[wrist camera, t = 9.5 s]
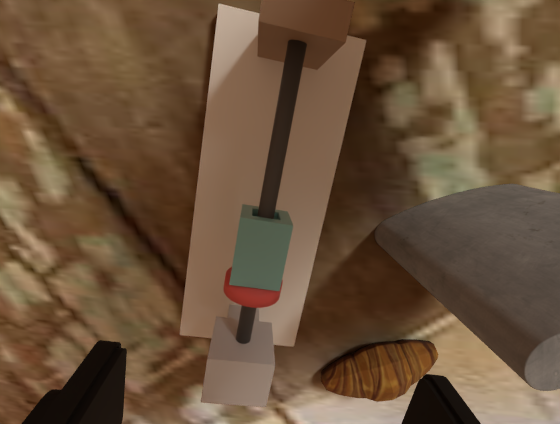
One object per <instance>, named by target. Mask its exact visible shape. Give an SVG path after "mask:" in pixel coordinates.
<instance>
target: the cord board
mask: <svg viewBox="0 0 560 424" xmlns="http://www.w3.org/2000/svg"><path fill="white" fill-rule="evenodd" d="M354 3H355V2H351V1H347V0H262V1H261V7H260V14H259V13H255V12H251V11H247V10H243V9H239V8H235V7H231V6H226V5H222V4H219V6H218V14H217V22H216V31H215V39H214V48H213V56H212V65H211V73H210V81H209V90H208V98H207V107H206V115H205V124H204V132H203V140H202V149H201V157H200V166H199V174H198V183H197V191H196V199H195V208H194V216H193V225H192V233H191V241H190V250H189V258H188V267H187V275H186V284H185V292H184V300H183V309H182V317H181V326H180V334H179V335H185V336H194V337H204V338H212V339H211V344H210V348H209V353H208V358H207V364H206V371H205V378H204V384H203V391H202V398H201V402H203V403H216V404H230V405H243V406H256V407H266V405H267V400H268V396H269V391H270V387H271V382H272V378H273V373H274V369H275V356H274V345H282V346H291V347H294V344H295V339H296V335H297V331H298V327H299V323H300V318H301V314H302V310H303V306H304V302H305V297H306V293H307V289H308V285H309V280H310V276H311V272H312V268H313V264H314V259H315V255H316V251H317V247H318V242H319V238H320V234H321V230H322V226H323V221H324V217H325V213H326V209H327V205H328V200H329V196H330V192H331V188H332V183H333V179H334V175H335V171H336V167H337V162H338V158H339V154H340V150H341V146H342V141H343V137H344V133H345V129H346V124H347V120H348V116H349V112H350V108H351V103H352V99H353V95H354V91H355V86H356V82H357V78H358V74H359V70H360V65H361V61H362V57H363V53H364V49H365V44H366V40H364V39H360V38H356V37H352V36H348V30H349V26H350V21H351V17H352V12H353V8H354ZM242 204H246V205H252V206H258V207H259V209H258V215H257V217H263V218H269V219H274V214H275V209H276V210H282V211H288V213H289V216H290V218H291V221H292V223H293V230H292V235H291V239H290V244H289V249H288V254H287V258H286V263H285V268H284V273H283V277H282V282H281V287H280V291H273V290H265V289H258V288H250V287H242V286H234V285H229V283H230V277H231V270H232V264H233V258H234V252H235V245H236V239H237V233H238V227H239V221H240V215H241V209H242Z"/></svg>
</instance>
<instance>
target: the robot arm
mask: <svg viewBox="0 0 560 424" xmlns="http://www.w3.org/2000/svg"><path fill="white" fill-rule="evenodd" d="M126 354H127V350H126V349H125V348H121V343H119V342H111V341H101V340H100V341H98V342H97V343H96V344H95V346H94V347H93V348H92V350H91V351H90V352H89V354H88V355H87V356H86V358H85V359H84V360H83V362H82V363H81V364H80V366H79V367H78V368H77V370H76V371H75V372H74V374H73V375H72V376H71V378H70V379H69V380H68V382H67V383H66V385H65V386H64V387H63V389H62V390H56V389H55V390H51V391H49V392H48V393H46V394H45V396H44V397H43V398H42V399H41V400H40V401H39V403H38V404H37V405H36V406H35V408H34V409H33V410H32V411H31V413H30V414H29V415H28V416H27V418H26V419H25V420H24V421H23V423H22V424H121V423H122V419H123V405H124V388H125V371H126ZM402 424H481V423H480V422H479V421H478V419H477V418H476V417H475V415H474V414H473V413H472V411H471V410H470V409H469V407H468V406H467V405H466V403H465V402H464V401H463V399H462V398H461V396H460V395H459V394H458V392H457V391H456V390H455V388H454V387H453V386H452V384H451V383H450V382H449V380H448V379H447V378H446V377H444V376H439V375H430V374H426V375H424V376H423V378H422V379H420V380H419V381H418V384H417V386H416V389H415V391H414V394H413V396H412V399H411V401H410V404H409V406H408V409H407V411H406V414H405V416H404V419H403V422H402Z"/></svg>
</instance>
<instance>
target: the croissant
mask: <svg viewBox="0 0 560 424" xmlns="http://www.w3.org/2000/svg"><path fill="white" fill-rule="evenodd" d="M437 358H438V353H437V350H436V348H435V346H434V344H432V343H431V342H430V341H423V340H399V341H396V342H381V343H375V344H371V345H368V346H366V347H364V348H361V349H359V350H358V351H356V352H354V353H353V354H349V355H345V356H343V357H342V358H340V359H338V360H337V361H335V362H334V363H332V364H330V365H329V366H328V367H327V368H325V369H324V370H323V371H322V372H321V382H322V383H323V385H324V386H325V388H326V390H328V391H331V392H334V393H336V394H339V395H343V396H349V397H355V398H367V399H371V400H374V401H377V402H378V401H387V400H393V399H395V398H397V397H399V396H401V395H403V394H405V393H406V392H407V390H408V389H409V387H410V386H411V385H412V384H414V383H416V382H417V381H418V380H419V379H420V378H422V377H423V376H424V375H425V374H426V373H427V372H428V371H429V370H430V369H431V367H432V366H433V364H434V363H435V361H436V360H437Z"/></svg>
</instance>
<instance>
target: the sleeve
mask: <svg viewBox="0 0 560 424" xmlns="http://www.w3.org/2000/svg"><path fill="white" fill-rule="evenodd" d="M258 209H259V207H258V206H252V205H246V204H242V209H241V215H240V221H239V227H238V233H237V239H236V245H235V252H234V258H233V264H232V270H231V277H230V283H229V285H234V286H242V287H250V288H258V289H265V290H273V291H280V287H281V282H282V277H283V273H284V268H285V263H286V258H287V254H288V249H289V244H290V239H291V235H292V230H293V223H292V221H291V218H290V216H289V213H288V211H282V210H276V209H275V214H274V219H269V218H263V217H257V215H258Z"/></svg>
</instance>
